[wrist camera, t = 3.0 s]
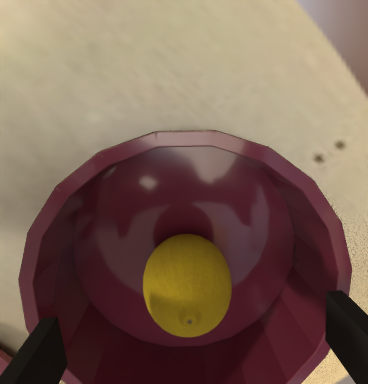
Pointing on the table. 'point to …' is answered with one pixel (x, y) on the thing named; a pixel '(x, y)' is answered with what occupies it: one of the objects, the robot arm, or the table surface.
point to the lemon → (187, 285)
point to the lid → (4, 361)
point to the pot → (197, 225)
